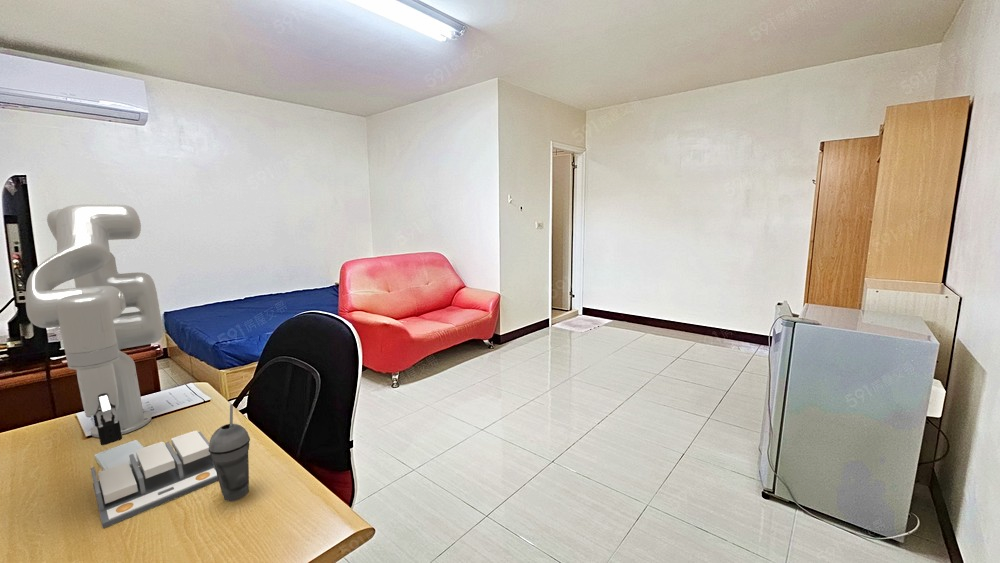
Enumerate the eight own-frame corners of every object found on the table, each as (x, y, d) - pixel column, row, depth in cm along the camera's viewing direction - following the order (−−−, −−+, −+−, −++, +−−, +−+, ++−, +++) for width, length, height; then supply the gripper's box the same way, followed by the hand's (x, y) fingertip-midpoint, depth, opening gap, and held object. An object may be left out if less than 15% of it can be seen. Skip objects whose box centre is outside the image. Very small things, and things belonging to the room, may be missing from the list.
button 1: (99, 483, 90) (97, 472, 90) (130, 472, 94) (128, 461, 94) (105, 507, 83) (103, 495, 82) (138, 494, 87) (136, 483, 86)
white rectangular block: (137, 460, 95) (135, 450, 94) (164, 451, 98) (163, 441, 98) (146, 482, 87) (144, 470, 87) (175, 471, 91) (174, 460, 90)
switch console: (93, 487, 91) (89, 467, 90) (202, 448, 105) (200, 430, 105) (103, 528, 79) (98, 506, 78) (224, 477, 93) (222, 458, 93)
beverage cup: (219, 488, 90) (207, 401, 87) (258, 479, 93) (248, 395, 89) (212, 510, 83) (198, 417, 80) (253, 499, 86) (242, 409, 83)
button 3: (172, 448, 100) (171, 438, 99) (197, 439, 103) (196, 430, 103) (184, 467, 92) (182, 457, 92) (210, 457, 96) (209, 447, 95)
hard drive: (93, 454, 101) (107, 472, 94) (137, 439, 108) (152, 454, 101) (95, 460, 102) (108, 479, 94) (138, 444, 108) (153, 461, 101)
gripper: (64, 349, 86) (79, 424, 90) (69, 373, 75) (87, 458, 79) (112, 340, 92) (125, 411, 95) (125, 361, 81) (139, 441, 84)
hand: (108, 432), depth 87 cm, fingers open, 9 cm apart
